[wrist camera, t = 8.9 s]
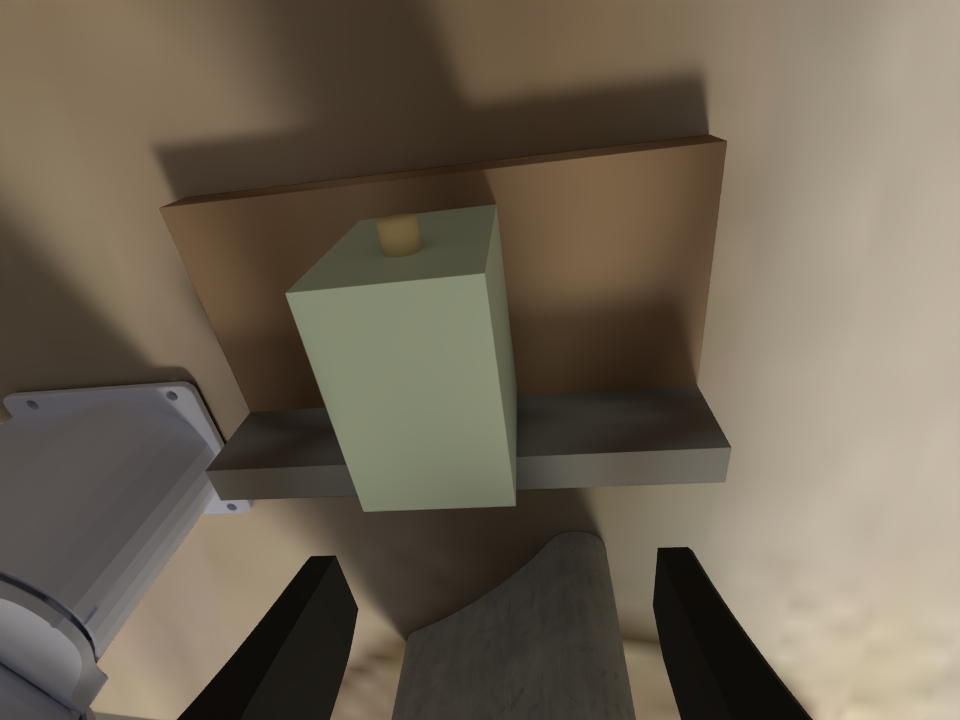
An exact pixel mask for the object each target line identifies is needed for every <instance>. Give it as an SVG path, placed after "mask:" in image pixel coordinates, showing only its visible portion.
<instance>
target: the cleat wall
mask: <svg viewBox="0 0 960 720" xmlns="http://www.w3.org/2000/svg"><path fill="white" fill-rule="evenodd" d="M726 146H727V141H726V140H723V139H720V138H718V137H715V136H712V135H703V136H694V137H686V138H678V139H670V140H661V141H653V142H645V143H636V144H628V145H620V146H611V147H603V148H595V149H586V150H578V151H570V152H561V153H553V154H545V155H536V156H528V157H520V158H511V159H503V160H495V161H486V162H478V163H470V164H461V165H453V166H445V167H436V168H428V169H420V170H411V171H403V172H395V173H386V174H378V175H370V176H361V177H353V178H345V179H336V180H328V181H320V182H311V183H303V184H295V185H287V186H278V187H270V188H262V189H253V190H245V191H237V192H228V193H220V194H212V195H203V196H195V197H187V198H183V199H181V200H178V201H176V202H173V203H171V204H168V205H165V206H163V207H160V208H159V209H160V212H161V214H162V216H163V218H164V221H165V223H166V225H167V227H168V229H169V232H170V234H171V236H172V238H173V241H174V243H175V245H176V247H177V250H178V252H179V254H180V256H181V258H182V261H183V263H184V265H185V267H186V270H187V272H188V274H189V276H190V278H191V281H192V283H193V285H194V287H195V290H196V292H197V294H198V296H199V298H200V301H201V303H202V305H203V307H204V310H205V312H206V314H207V316H208V319H209V321H210V323H211V325H212V327H213V330H214V332H215V334H216V336H217V339H218V341H219V343H220V345H221V347H222V350H223V352H224V354H225V356H226V359H227V361H228V363H229V365H230V367H231V370H232V372H233V374H234V376H235V379H236V381H237V383H238V385H239V388H240V390H241V392H242V394H243V396H244V399H245V401H246V403H247V405H248V408H249V410H250V414H249V415H248V416H247V417H246V419H245V420H244V421H243V423H242V424H241V425H240V426H239V428H238V429H237V430H236V432H235V433H234V434H233V436H232V437H231V438H230V439H229V441H228V442H227V443H226V445H225V446H224V447H223V448H222V450H221V451H220V452H219V454H218V455H217V456H216V457H215V459H214V460H213V461H212V463H211V464H210V465H209V466H208V468H207V469H206V470H205V472H206V474H207V476H208V478H209V480H210V481H211V483H212V485H213V487H214V489H215V490H216V492H217V494H218V496H219V498H220V500H221V501H226V500H253V499H281V498H308V497H335V496H358V495H357V492H356V489H355V486H354V484H353V481H352V478H351V475H350V472H349V470H348V467H347V464H346V461H345V459H344V456H343V453H342V450H341V447H340V445H339V442H338V439H337V436H336V433H335V431H334V428H333V425H332V422H331V420H330V417H329V414H328V411H327V408H326V406H325V403H324V400H323V397H322V395H321V392H320V389H319V386H318V383H317V381H316V378H315V375H314V372H313V370H312V367H311V364H310V361H309V358H308V356H307V353H306V350H305V347H304V344H303V342H302V339H301V336H300V333H299V331H298V328H297V325H296V322H295V319H294V317H293V314H292V311H291V308H290V306H289V303H288V300H287V297H286V294H285V293H286V292H287V291H288V290H289V289H290V288H291V287H292V286H293V285H294V284H295V283H296V282H297V281H298V280H299V279H300V278H301V277H302V276H303V275H304V274H305V273H306V272H307V271H308V270H309V269H311V268H312V267H313V266H314V265H315V264H316V263H317V262H318V261H319V260H320V259H321V258H322V257H323V256H324V255H325V254H326V253H327V252H328V251H329V250H330V249H331V248H332V247H333V246H334V245H335V244H336V243H337V242H338V241H339V240H340V239H341V238H342V237H343V236H344V235H345V234H347V233H348V232H349V231H350V230H351V229H352V228H353V227H354V226H355V225H356V224H357V223H358V222H359V221H360V220H366V219H375V218H383V217H388V216H392V215H398V214H417V213H426V212H434V211H443V210H452V209H460V208H469V207H477V206H486V205H494V204H496V205H497V214H498V223H499V231H500V240H501V249H502V258H503V267H504V276H505V285H506V294H507V303H508V312H509V321H510V330H511V338H512V347H513V356H514V365H515V374H516V383H517V432H516V490H526V489H553V488H581V487H608V486H635V485H662V484H690V483H717V482H725V480H726V475H727V469H728V464H729V458H730V453H731V446H730V444H729V442H728V440H727V439H726V437H725V435H724V433H723V431H722V430H721V428H720V426H719V424H718V422H717V421H716V419H715V417H714V415H713V413H712V411H711V410H710V408H709V406H708V404H707V402H706V401H705V399H704V397H703V395H702V393H701V392H700V390H699V388H698V386H697V382H698V374H699V365H700V357H701V349H702V341H703V333H704V325H705V317H706V308H707V300H708V292H709V284H710V276H711V268H712V260H713V252H714V243H715V235H716V227H717V219H718V211H719V203H720V195H721V186H722V178H723V170H724V162H725V154H726Z"/></svg>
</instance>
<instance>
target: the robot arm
mask: <svg viewBox="0 0 960 720" xmlns="http://www.w3.org/2000/svg"><path fill="white" fill-rule="evenodd" d="M173 392H174V393H176V395H175V394H174V393H173ZM3 404H4V406H5V407H6V409H7V410H8V411H9V413H10V414H11V415H12V418H10V419H9V420H8V421H6V422H5V423H3V424H2V425H0V720H96V716H95V714H94V712H93V711H92V709H91V708H90V707H89V706H90V705H91V704H92V702H93V701H94V699H95V698H96V696H97V695H98V693H99V692H100V690H101V689H102V687H103V686H104V684H105V683H106V681H107V680H108V676H107V675H106V674H105V673H103V672H102V671H101V670H100V669H99V668H98V666H97V665H96V663H97V662H98V661H99V659H100V658H101V656H102V655H103V653H104V652H105V651H106V649H107V648H108V646H109V645H110V644H111V642H112V641H113V639H114V638H115V637H116V635H117V634H118V632H119V631H120V629H121V628H122V627H123V625H124V624H125V622H126V621H127V620H128V618H129V617H130V615H131V614H132V612H133V611H134V610H135V608H136V607H137V605H138V604H139V603H140V601H141V600H142V598H143V597H144V596H145V594H146V593H147V591H148V590H149V588H150V587H151V586H152V584H153V583H154V581H155V580H156V579H157V577H158V576H159V574H160V573H161V571H162V570H163V569H164V567H165V566H166V564H167V563H168V562H169V560H170V559H171V557H172V556H173V555H174V553H175V552H176V550H177V549H178V547H179V546H180V545H181V543H182V542H183V540H184V539H185V538H186V536H187V535H188V533H189V532H190V530H191V529H192V528H193V526H194V525H195V523H196V522H197V521H198V519H199V518H200V516H201V515H202V514H226V513H246V512H249V511H250V510H251V508H252V507H253V504H254V503H253V500H226V501H221V500H220V498H219V496H218V494H217V492H216V490H215V489H214V487H213V485H212V483H211V481H210V480H209V478H208V476H207V474H206V472H205V470H206V469H207V468H208V466H209V465H210V464H211V463H212V461H213V460H214V459H215V457H216V456H217V455H218V454H219V452H220V451H221V450H222V448H223V447H224V446H225V445H224V443H223V441H222V439H221V437H220V435H219V433H218V431H217V429H216V427H215V425H214V423H213V421H212V419H211V417H210V415H209V413H208V411H207V409H206V407H205V405H204V403H203V401H202V399H201V397H200V395H199V393H198V391H197V389H196V388H195V387H194V386H193V385H192V384H190V383H188V382H183V381H179V382H165V383H151V384H136V385H122V386H108V387H93V388H79V389H65V390H51V391H36V392H22V393H12V394H10V395H8V396H7V397H5V398H4V399H3ZM653 609H654V614H655V619H656V625H657V630H658V635H659V640H660V645H661V650H662V655H663V659H664V663H665V666H666V669H667V673H668V676H669V680H670V683H671V686H672V690H673V693H674V697H675V700H676V703H677V707H678V710H679V714H680V717H681V720H813V719H812V718H811V717H810V716H809V715H808V713H807V712H806V711H805V710H804V708H803V707H802V706H801V705H800V703H799V702H798V701H797V700H796V698H795V697H794V696H793V695H792V693H791V692H790V691H789V690H788V688H787V687H786V686H785V685H784V683H783V682H782V681H781V679H780V678H779V677H778V675H777V674H776V673H775V671H774V670H773V669H772V668H771V666H770V665H769V664H768V662H767V661H766V660H765V658H764V657H763V655H762V654H761V653H760V651H759V650H758V649H757V647H756V646H755V645H754V643H753V642H752V640H751V639H750V638H749V636H748V635H747V634H746V632H745V631H744V630H743V628H742V627H741V625H740V624H739V622H738V621H737V620H736V618H735V617H734V615H733V614H732V612H731V611H730V609H729V608H728V606H727V605H726V603H725V602H724V600H723V599H722V597H721V596H720V594H719V593H718V591H717V590H716V588H715V587H714V585H713V584H712V582H711V581H710V579H709V577H708V576H707V574H706V573H705V571H704V569H703V568H702V566H701V564H700V563H699V561H698V559H697V558H696V556H695V554H694V552H693V551H692V550H691V549H690V548H688V547H673V548H658V552H657V564H656V576H655V587H654V599H653ZM357 613H358V607H357V605H356V602H355V600H354V598H353V595H352V593H351V590H350V588H349V586H348V583H347V581H346V579H345V576H344V574H343V572H342V569H341V567H340V565H339V562H338V560H337V557H336V556H311V557H310V558H309V559H308V560H307V561H306V563H305V564H304V565H303V566H302V568H301V569H300V570H299V572H298V573H297V574H296V576H295V577H294V578H293V579H292V581H291V582H290V583H289V585H288V586H287V587H286V589H285V590H284V591H283V593H282V594H281V595H280V597H279V598H278V599H277V600H276V602H275V603H274V604H273V606H272V607H271V608H270V609H269V611H268V612H267V613H266V615H265V616H264V617H263V618H262V620H261V621H260V622H259V623H258V625H257V626H256V627H255V628H254V630H253V631H252V632H251V633H250V635H249V636H248V637H247V638H246V640H245V641H244V642H243V643H242V645H241V646H240V647H239V648H238V650H237V651H236V652H235V653H234V655H233V656H232V657H231V658H230V659H229V661H228V662H227V663H226V664H225V665H224V666H223V668H222V669H221V670H220V671H219V672H218V673H217V675H216V676H215V677H214V678H213V679H212V680H211V682H210V683H209V684H208V685H207V686H206V687H205V689H204V690H203V691H202V692H201V693H200V694H199V695H198V697H197V698H196V699H195V700H194V701H193V702H192V703H191V704H190V706H189V707H188V708H187V709H186V710H185V711H184V712H183V713H182V714H181V715H180V717H179V718H178V719H177V720H330V717H331V714H332V711H333V708H334V705H335V701H336V698H337V695H338V692H339V688H340V685H341V682H342V679H343V675H344V672H345V669H346V665H347V662H348V658H349V654H350V649H351V645H352V640H353V635H354V629H355V624H356V618H357Z"/></svg>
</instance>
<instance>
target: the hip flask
mask: <svg viewBox="0 0 960 720" xmlns="http://www.w3.org/2000/svg"><path fill="white" fill-rule="evenodd" d="M392 720H636V717H635V711H634V706H633V700H632V695H631V689H630V683H629V678H628V672H627V666H626V661H625V655H624V649H623V644H622V638H621V632H620V627H619V621H618V615H617V610H616V604H615V599H614V593H613V587H612V582H611V576H610V570H609V565H608V559H607V553H606V548H605V545H604V543H603V542H602V541H601V540H600V539H599V538H598V537H596V536H594V535H593V534H590V533H587V532H581V531H571V532H565V533H562V534H559V535H557V536H555V537H554V538H552V539H551V540H550V541H549V542H548V543H547V544H546V545H545V546H544V547H543V548H542V549H541V550H540V551H539V552H538V553H537V554H536V555H535V556H534V557H533V558H532V559H531V560H530V561H529V562H528V563H526V564H525V565H524V566H523V567H522V568H521V569H519V570H518V571H517V572H516V573H514V574H513V575H512V576H511V577H509V578H508V579H507V580H505V581H504V582H503V583H501V584H500V585H498V586H497V587H496V588H494V589H493V590H491V591H490V592H488V593H487V594H485V595H484V596H482V597H480V598H479V599H477V600H476V601H474V602H473V603H471V604H469V605H468V606H466V607H464V608H463V609H461V610H459V611H457V612H455V613H453V614H452V615H450V616H448V617H446V618H444V619H442V620H440V621H437V622H435V623H433V624H431V625H428V626H426V627H424V628H421V629H419V630H416V631H414V632H412V633H411V634H410V635H409V636H408V639H407V644H406V649H405V654H404V659H403V664H402V669H401V674H400V679H399V684H398V689H397V695H396V700H395V705H394V710H393V715H392Z"/></svg>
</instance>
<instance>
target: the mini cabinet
mask: <svg viewBox="0 0 960 720" xmlns="http://www.w3.org/2000/svg"><path fill="white" fill-rule="evenodd" d="M285 294H286V297H287V300H288V303H289V306H290V308H291V311H292V314H293V317H294V319H295V322H296V325H297V328H298V331H299V333H300V336H301V339H302V342H303V344H304V347H305V350H306V353H307V356H308V358H309V361H310V364H311V367H312V370H313V372H314V375H315V378H316V381H317V383H318V386H319V389H320V392H321V395H322V397H323V400H324V403H325V406H326V408H327V411H328V414H329V417H330V420H331V422H332V425H333V428H334V431H335V433H336V436H337V439H338V442H339V445H340V447H341V450H342V453H343V456H344V459H345V461H346V464H347V467H348V470H349V472H350V475H351V478H352V481H353V484H354V486H355V489H356V492H357V495H358V497H359V500H360V503H361V506H362V509H363V511H364V512H373V511H399V510H425V509H451V508H477V507H503V506H516V432H517V383H516V374H515V365H514V356H513V347H512V338H511V330H510V321H509V312H508V303H507V294H506V285H505V276H504V267H503V258H502V249H501V240H500V231H499V223H498V214H497V205H496V204H494V205H486V206H477V207H469V208H460V209H452V210H443V211H434V212H426V213H417V214H398V215H392V216H388V217H383V218H375V219H366V220H360V221H359V222H358V223H357V224H356V225H355V226H354V227H353V228H352V229H351V230H350V231H349V232H348V233H347V234H345V235H344V236H343V237H342V238H341V239H340V240H339V241H338V242H337V243H336V244H335V245H334V246H333V247H332V248H331V249H330V250H329V251H328V252H327V253H326V254H325V255H324V256H323V257H322V258H321V259H320V260H319V261H318V262H317V263H316V264H315V265H314V266H313V267H312V268H311V269H309V270H308V271H307V272H306V273H305V274H304V275H303V276H302V277H301V278H300V279H299V280H298V281H297V282H296V283H295V284H294V285H293V286H292V287H291V288H290V289H289V290H288V291H287V292H286V293H285Z"/></svg>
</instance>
